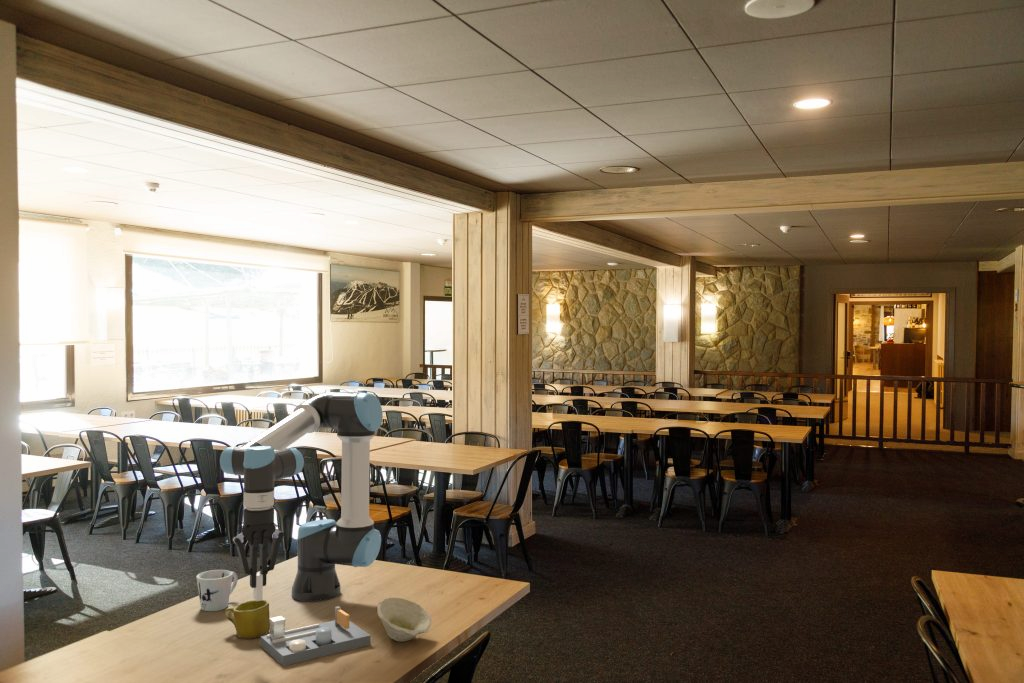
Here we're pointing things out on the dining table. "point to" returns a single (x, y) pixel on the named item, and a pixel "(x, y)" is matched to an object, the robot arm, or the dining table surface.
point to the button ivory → (297, 645)
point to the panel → (340, 642)
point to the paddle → (341, 618)
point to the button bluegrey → (323, 636)
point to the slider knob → (277, 627)
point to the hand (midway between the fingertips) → (257, 599)
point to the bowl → (403, 618)
